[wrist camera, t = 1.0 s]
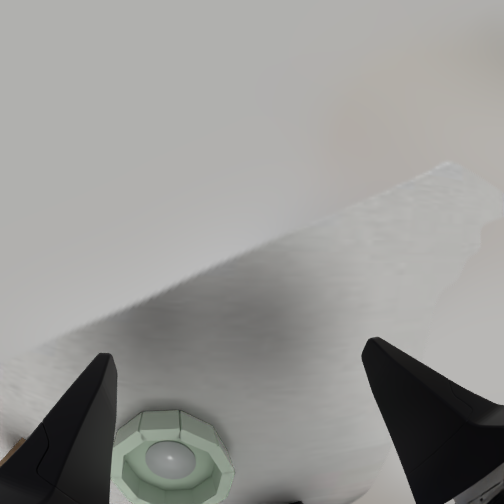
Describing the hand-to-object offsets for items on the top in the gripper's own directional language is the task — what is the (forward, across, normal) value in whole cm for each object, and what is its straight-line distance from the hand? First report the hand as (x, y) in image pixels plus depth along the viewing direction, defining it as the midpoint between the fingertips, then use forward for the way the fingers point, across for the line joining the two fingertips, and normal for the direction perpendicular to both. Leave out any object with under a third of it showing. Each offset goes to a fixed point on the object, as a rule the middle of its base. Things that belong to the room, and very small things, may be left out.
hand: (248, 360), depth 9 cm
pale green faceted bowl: (+5, +4, +19) cm, 20 cm away
